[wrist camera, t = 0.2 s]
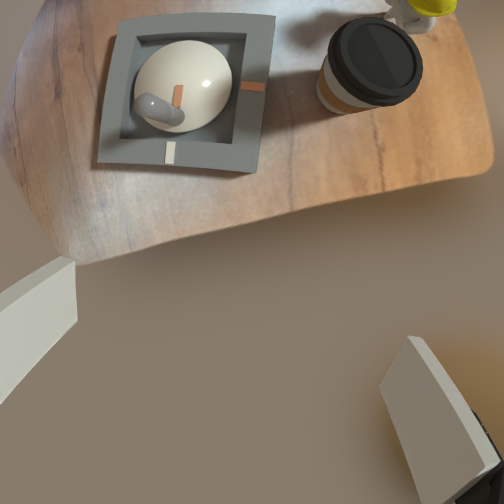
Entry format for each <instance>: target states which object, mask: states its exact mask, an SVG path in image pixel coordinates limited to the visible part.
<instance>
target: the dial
mask: <svg viewBox="0 0 504 504" xmlns="http://www.w3.org/2000/svg"><path fill="white" fill-rule="evenodd" d="M232 89H233V77H232V73H231V70H230V67H229V65H228V62H227V61H226V59H225V57H224V56H223V55H222V54H221V53H220V52H219V51H218V50H217V49H216V48H214V47H213V46H211V45H209V44H207V43H203V42H200V41H192V40H187V41H179V42H175V43H172V44H169V45H167V46H164V47H163V48H161V49H159V50H158V51H156V52H155V53H154V54H153V55H152V56H151V57H149V58H148V60H147V61H146V62H145V63H144V65H143V66H142V68H141V69H140V71H139V73H138V76H137V79H136V83H135V89H134V97H135V102H134V111H135V112H136V114H138V115H139V116H142V117H143V118H144V119H145V120H146V121H147V122H148V123H149V124H151V125H152V126H154V127H156V128H158V129H161V130H164V131H168V132H173V133H186V132H192V131H196V130H198V129H201V128H203V127H205V126H207V125H208V124H210V123H211V122H213V121H214V120H215V119H216V118H217V117H218V116H219V115H220V114H221V113H222V112H223V110H224V109H225V108H226V106H227V104H228V102H229V100H230V97H231V94H232Z"/></svg>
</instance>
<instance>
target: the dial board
mask: <svg viewBox="0 0 504 504" xmlns="http://www.w3.org/2000/svg"><path fill="white" fill-rule="evenodd" d="M275 18H276V16H270V15H260V14H245V13H182V14H168V15H157V16H148V17H141V18H134V19H127V20H121V21H120V25H119V29H118V33H117V37H116V41H115V45H114V49H113V54H112V58H111V63H110V68H109V73H108V78H107V84H106V90H105V96H104V103H103V110H102V118H101V126H100V136H99V147H98V160H97V163H130V164H153V165H170V166H185V167H197V168H209V169H220V170H230V171H239V172H248V173H256V172H257V164H258V156H259V148H260V140H261V132H262V124H263V116H264V108H265V100H266V92H267V84H268V76H269V69H270V61H271V53H272V45H273V38H274V30H275ZM187 40H192V41H200V42H203V43H207V44H209V45H211V46H213V47H214V48H216V49H217V50H218V51H219V52H220V53H221V54H222V55H223V56H224V57H225V59H226V61H227V62H228V65H229V67H230V70H231V73H232V77H233V89H232V94H231V97H230V100H229V102H228V104H227V106H226V108H225V109H224V110H223V112H222V113H221V114H220V115H219V116H218V117H217V118H216V119H215V120H214V121H213V122H211V123H210V124H208V125H207V126H205V127H203V128H201V129H198V130H196V131H192V132H186V133H173V132H168V131H164V130H161V129H158V128H156V127H154V126H152V125H151V124H149V123H148V122H147V121H146V120H145V119H144V118H143V117H142V116H139V115H138V114H136V112H135V111H134V102H135V97H134V89H135V83H136V79H137V76H138V73H139V71H140V69H141V68H142V66H143V65H144V63H145V62H146V61H147V60H148V58H149V57H151V56H152V55H153V54H154V53H155V52H156V51H158V50H159V49H161V48H163V47H164V46H167V45H169V44H172V43H175V42H179V41H187Z"/></svg>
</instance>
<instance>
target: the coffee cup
mask: <svg viewBox="0 0 504 504" xmlns="http://www.w3.org/2000/svg"><path fill="white" fill-rule="evenodd" d="M422 72H423V64H422V58H421V55H420V52H419V50H418V48H417V46H416V44H415V43H414V41H413V40H412V39H411V37H410V36H409V35H408V34H407V33H406V32H405V31H404V30H402V29H401V28H399V27H398V26H397V25H395V24H393V23H391V22H389V21H387V20H384V19H380V18H375V17H363V18H360V19H355V20H352V21H349V22H347V23H346V24H344V25H343V26H341V27H340V28H339V29H338V30H337V31H336V32H335V33H334V35H333V36H332V38H331V39H330V42H329V46H328V53H327V55H326V57H325V59H324V61H323V64H322V67H321V69H320V72H319V76H318V79H317V83H316V92H317V96H318V98H319V100H320V101H321V103H322V104H323V105H324V106H325V107H326V108H327V109H329V110H330V111H332V112H334V113H337V114H345V115H346V114H352V113H358V112H362V111H366V110H370V109H375V108H379V107H386V106H394V105H396V104H398V103H401V102H403V101H404V100H405V99H407V98H409V97H410V96H411V95H412V94H413V93H414V92H415V91H416V89H417V87H418V85H419V83H420V80H421V78H422Z"/></svg>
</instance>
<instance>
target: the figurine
mask: <svg viewBox="0 0 504 504" xmlns="http://www.w3.org/2000/svg"><path fill="white" fill-rule="evenodd" d="M385 1H386V3H387V4H389V5H391V6H392V7H391V8H390V9H389V11H388V12H387V13H386V15H385V16H384V17H383V19H384V20H390V19H392V18H393V17H394V18H395V20H396V24H397V26H398V27H399V28H401V29H402V30H404V31H405V32H406V33H407V34H408V35H409V36H410V35H411V34H424V33H427V32H429V31H431V30H432V28H433V26H434V24H435V19H436V17H437V16H444V15H448V14H450V13H452V12H453V11H454V9H455V7H456V4H457V0H385Z"/></svg>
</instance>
